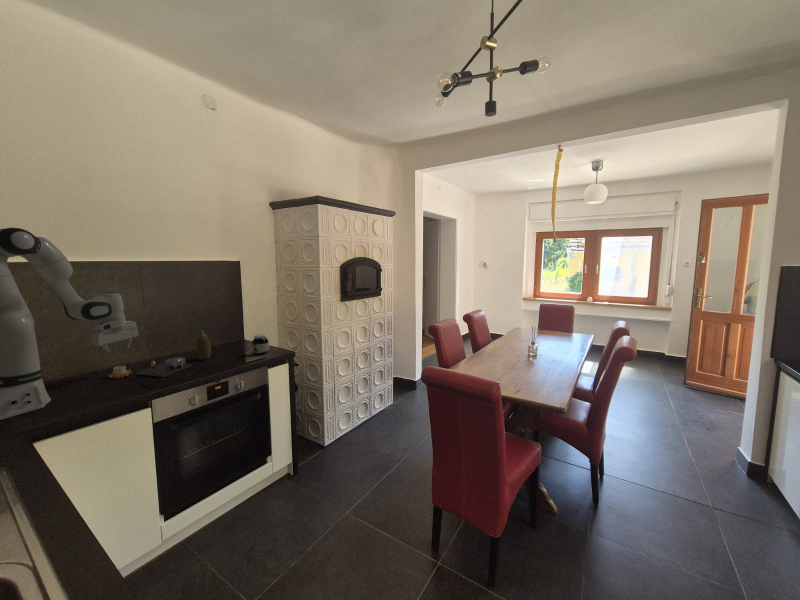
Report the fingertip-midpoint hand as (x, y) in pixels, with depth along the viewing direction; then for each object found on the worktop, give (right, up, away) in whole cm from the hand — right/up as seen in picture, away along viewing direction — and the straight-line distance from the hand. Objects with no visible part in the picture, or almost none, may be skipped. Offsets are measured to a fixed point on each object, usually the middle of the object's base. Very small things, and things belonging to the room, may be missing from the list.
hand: (118, 349), depth 166 cm
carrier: (+18, -13, +8) cm, 24 cm away
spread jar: (+54, -9, +40) cm, 68 cm away
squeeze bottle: (+26, -10, +30) cm, 41 cm away
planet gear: (0, -14, +1) cm, 14 cm away
